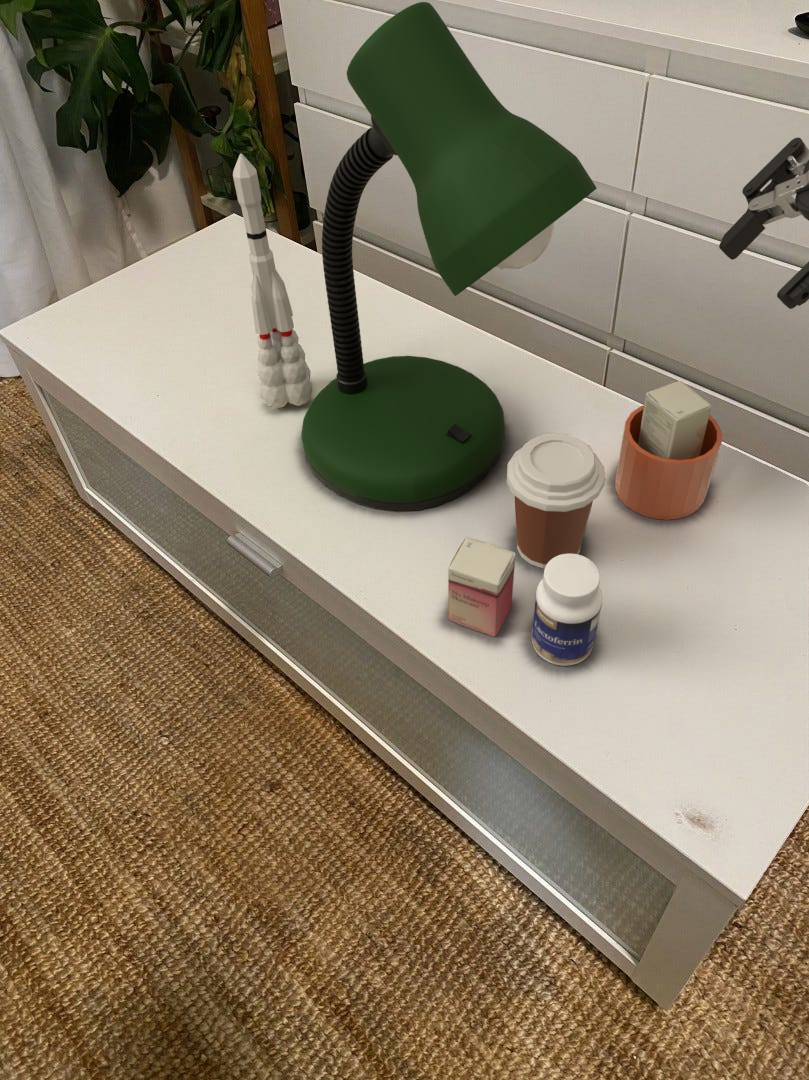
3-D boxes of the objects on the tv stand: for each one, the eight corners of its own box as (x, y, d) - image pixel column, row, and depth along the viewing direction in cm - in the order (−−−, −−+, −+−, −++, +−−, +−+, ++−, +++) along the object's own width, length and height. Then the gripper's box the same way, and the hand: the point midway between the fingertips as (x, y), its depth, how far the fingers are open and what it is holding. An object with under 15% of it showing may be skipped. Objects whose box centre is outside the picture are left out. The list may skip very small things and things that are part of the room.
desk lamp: (603, 451, 96) (674, -7, 63) (486, 577, 85) (498, 101, 51) (390, 357, 110) (356, -59, 76) (266, 455, 99) (163, 18, 65)
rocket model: (330, 392, 106) (293, 148, 84) (290, 425, 102) (240, 178, 80) (286, 372, 109) (240, 132, 87) (246, 403, 105) (186, 160, 83)
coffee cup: (562, 594, 83) (572, 507, 74) (485, 551, 87) (487, 464, 78) (611, 537, 87) (627, 450, 78) (536, 500, 92) (543, 412, 83)
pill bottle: (523, 657, 78) (528, 589, 71) (540, 610, 82) (547, 540, 74) (585, 675, 77) (597, 608, 69) (600, 627, 80) (613, 557, 73)
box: (693, 489, 91) (715, 407, 82) (659, 503, 90) (678, 421, 81) (662, 459, 94) (680, 377, 86) (629, 472, 93) (644, 391, 85)
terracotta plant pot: (717, 475, 93) (734, 417, 87) (688, 531, 87) (704, 474, 81) (634, 448, 96) (644, 391, 90) (601, 500, 91) (610, 444, 85)
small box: (447, 621, 82) (445, 567, 76) (465, 588, 84) (465, 534, 78) (496, 639, 80) (498, 585, 74) (513, 605, 82) (517, 551, 76)
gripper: (838, 54, 70) (686, 218, 76) (970, 119, 60) (785, 299, 67) (871, 110, 75) (726, 259, 81) (997, 178, 65) (823, 340, 72)
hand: (753, 277), depth 74 cm, fingers open, 8 cm apart
